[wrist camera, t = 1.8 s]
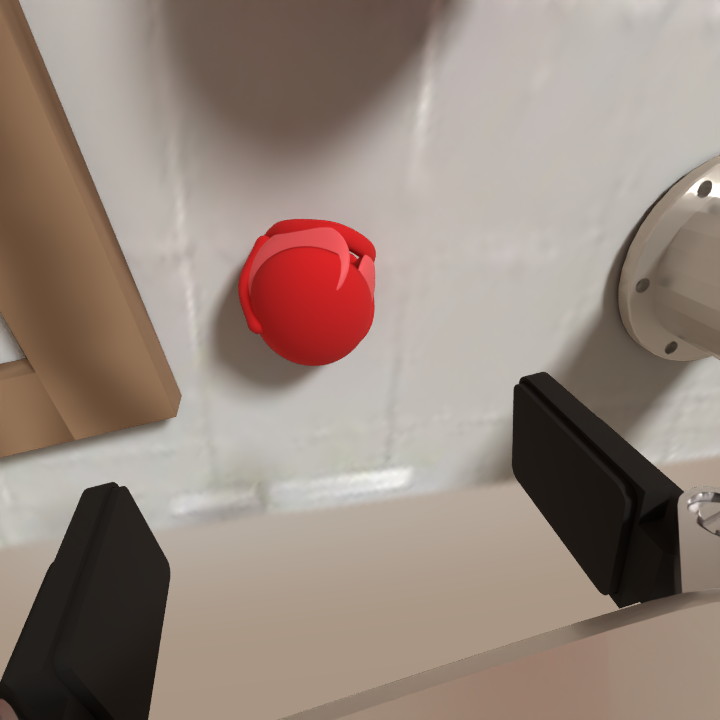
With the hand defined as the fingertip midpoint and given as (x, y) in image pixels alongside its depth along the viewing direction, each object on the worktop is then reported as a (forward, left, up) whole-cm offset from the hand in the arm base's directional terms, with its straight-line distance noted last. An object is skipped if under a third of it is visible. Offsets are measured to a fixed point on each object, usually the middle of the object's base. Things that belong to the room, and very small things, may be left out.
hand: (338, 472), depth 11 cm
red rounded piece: (-1, 0, -15) cm, 15 cm away
